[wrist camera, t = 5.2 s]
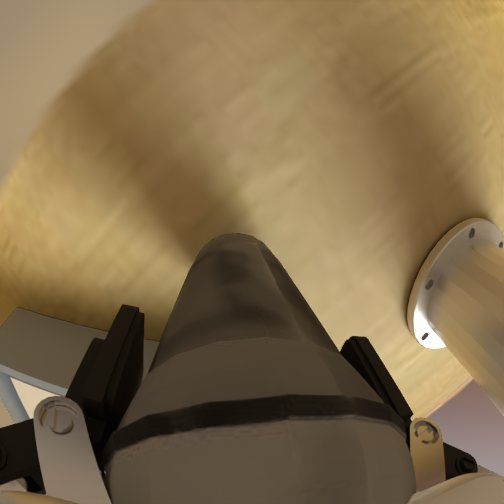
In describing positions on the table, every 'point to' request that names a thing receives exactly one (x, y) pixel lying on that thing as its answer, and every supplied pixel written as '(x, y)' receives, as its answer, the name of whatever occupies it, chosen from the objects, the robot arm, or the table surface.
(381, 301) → the table surface
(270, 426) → the beverage cup
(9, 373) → the tray
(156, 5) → the table surface
